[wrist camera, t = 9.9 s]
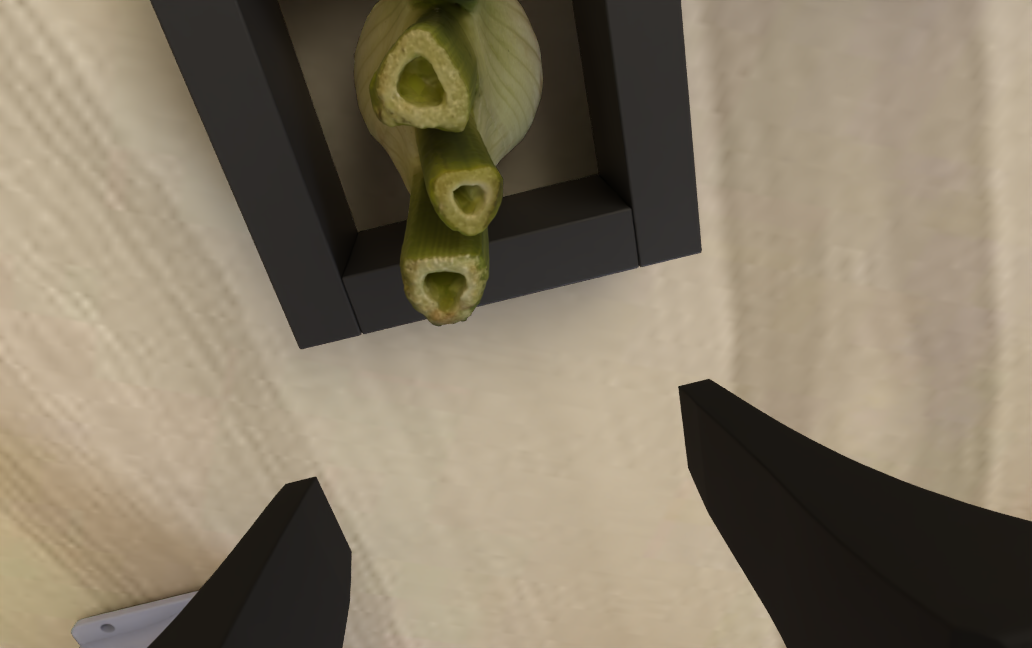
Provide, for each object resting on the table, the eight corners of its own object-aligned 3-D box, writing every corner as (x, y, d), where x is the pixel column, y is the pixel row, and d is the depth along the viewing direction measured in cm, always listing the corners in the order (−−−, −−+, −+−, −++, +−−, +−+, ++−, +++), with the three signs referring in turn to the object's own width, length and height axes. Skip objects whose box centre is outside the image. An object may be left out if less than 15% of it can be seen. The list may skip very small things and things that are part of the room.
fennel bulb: (418, -79, 17) (380, -237, 6) (571, 23, 18) (754, 38, 8) (331, 118, 19) (186, 257, 8) (476, 196, 20) (515, 400, 10)
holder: (323, 294, 21) (299, 351, 18) (163, -114, 16) (84, -150, 12) (658, 212, 21) (703, 253, 18) (609, -222, 16) (657, -289, 12)
